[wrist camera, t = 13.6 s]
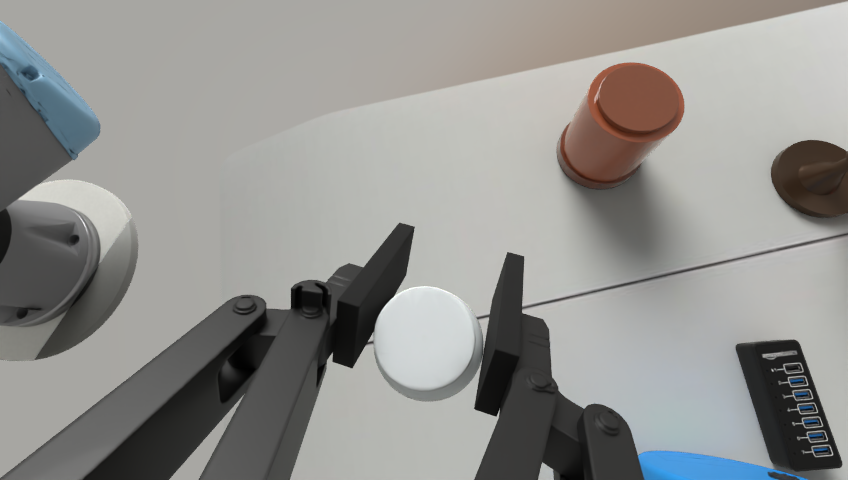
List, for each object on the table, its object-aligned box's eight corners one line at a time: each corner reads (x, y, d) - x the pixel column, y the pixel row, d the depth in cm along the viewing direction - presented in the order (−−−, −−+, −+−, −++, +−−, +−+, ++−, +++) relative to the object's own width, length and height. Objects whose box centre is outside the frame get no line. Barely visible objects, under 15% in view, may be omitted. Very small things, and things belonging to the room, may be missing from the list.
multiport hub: (772, 464, 36) (793, 472, 34) (734, 344, 39) (751, 343, 37) (820, 460, 36) (845, 468, 34) (779, 339, 39) (798, 339, 37)
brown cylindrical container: (545, 172, 46) (572, 121, 36) (571, 108, 48) (604, 43, 38) (624, 201, 44) (676, 156, 34) (647, 134, 46) (703, 73, 36)
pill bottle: (404, 406, 19) (378, 428, 12) (380, 321, 21) (344, 295, 13) (487, 377, 19) (512, 382, 12) (458, 295, 21) (464, 255, 13)
